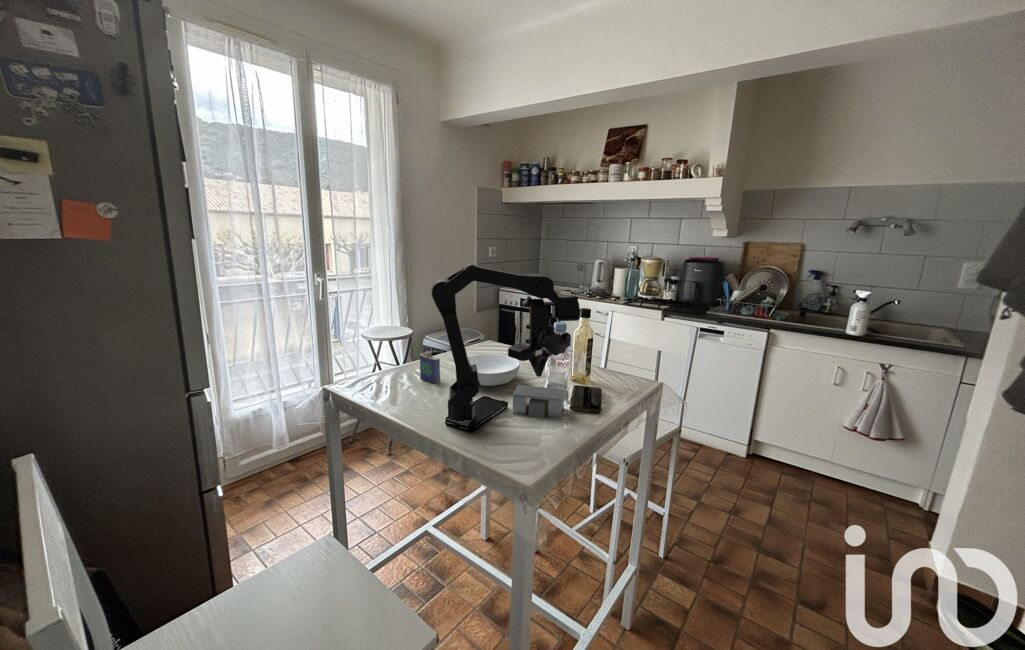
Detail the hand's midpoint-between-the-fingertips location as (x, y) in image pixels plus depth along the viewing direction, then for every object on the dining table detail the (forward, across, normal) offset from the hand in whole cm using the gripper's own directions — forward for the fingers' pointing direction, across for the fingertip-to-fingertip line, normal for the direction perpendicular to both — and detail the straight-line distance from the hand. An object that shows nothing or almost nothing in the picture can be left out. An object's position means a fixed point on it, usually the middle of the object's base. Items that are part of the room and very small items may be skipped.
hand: (538, 376), depth 112 cm
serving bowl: (+12, +7, +30) cm, 33 cm away
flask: (+12, -9, +43) cm, 46 cm away
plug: (+12, +5, +4) cm, 14 cm away
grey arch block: (+12, +3, +3) cm, 13 cm away
